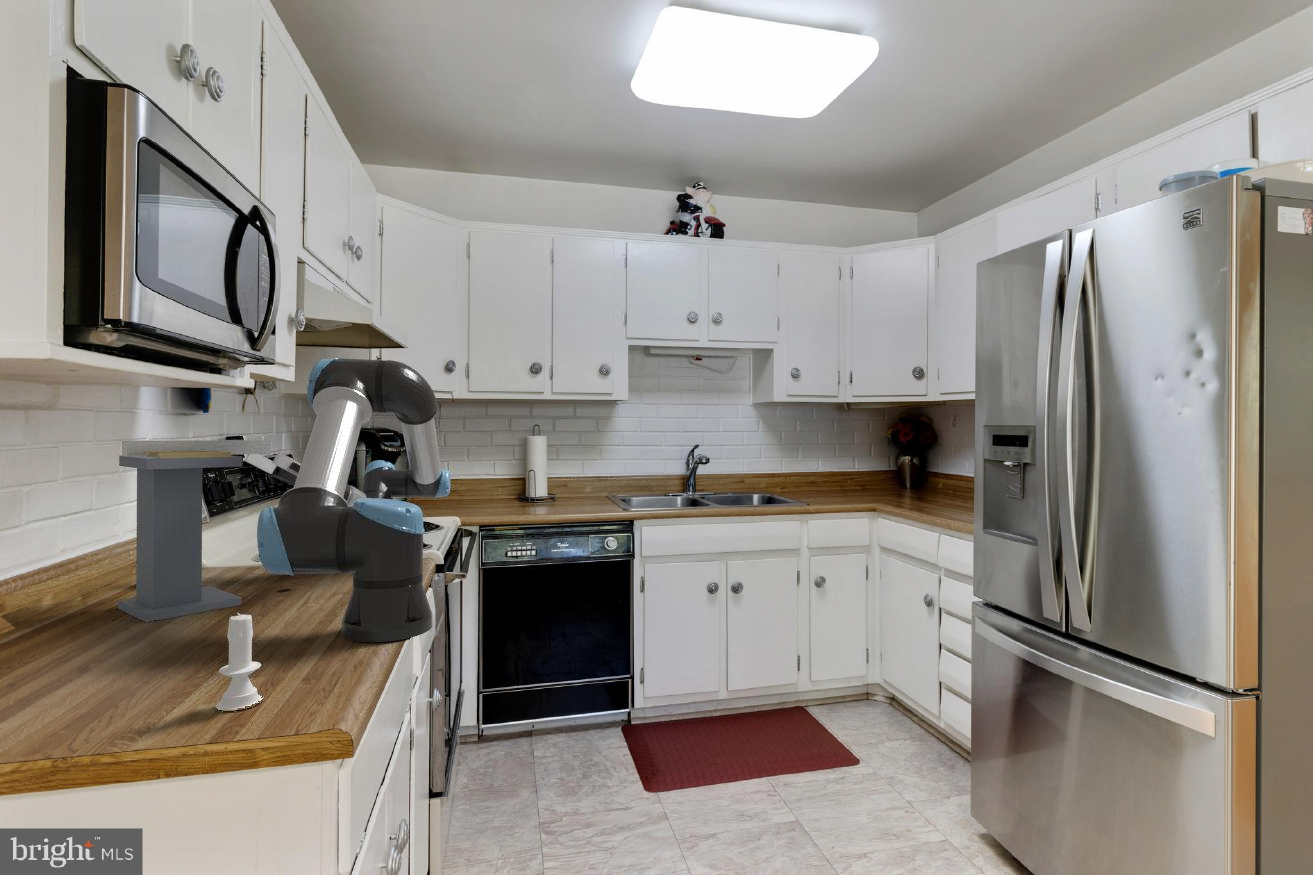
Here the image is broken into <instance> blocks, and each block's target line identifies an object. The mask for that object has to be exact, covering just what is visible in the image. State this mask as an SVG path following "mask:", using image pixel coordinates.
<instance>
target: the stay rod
mask: <svg viewBox="0 0 1313 875" xmlns="http://www.w3.org/2000/svg"><path fill="white" fill-rule="evenodd" d="M162 451H219V452H232V456H234V455H248V454H260V455H270V454H271V440H269V439H230V440H229V439H222V440H221V439H220V440H219V439H218V440H217V439H215V440H213V439H210V440H208V439H205V440H203V439H200V440H199V439H196V440H195V439H194V440H193V439H189V440H186V439H184V440H183V439H182V440H181V439H180V440H176V439H175V440H173V439H171V440H166V439H165V440H162V439H161V440H160V439H159V440H154V439H153V440H152V439H151V440H143V439H142V440H121V456H127V457H130V456H146V452H162Z"/></svg>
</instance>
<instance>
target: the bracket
mask: <svg viewBox="0 0 1313 875" xmlns="http://www.w3.org/2000/svg"><path fill="white" fill-rule="evenodd" d="M232 456H233V455H232V452H219V451H162V452H146V457H158V458H199V457H232Z"/></svg>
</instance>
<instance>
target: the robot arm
mask: <svg viewBox="0 0 1313 875" xmlns="http://www.w3.org/2000/svg"><path fill="white" fill-rule="evenodd" d="M306 389H307V390H306V392H307V393H306V396H307V402H308V404H309V406H310V408H311V409H312V410H313V411H314V413H315V415H316V417H315V420H314V423H313V427H312V429H311V433H310V435H309V439H308V441H307V445H306V448H305V451H304V455H303V457H302V461H301V462H299V461H297V460H295V459H294V458H292V457H290V456H288V455H287V454H284V453H282V452H280V451H278V452H277V454H276V455H275V457H274V458H273V460H271V459H269V458H267V457H265V456H264V455H263V454H247V455H246V457H245V459H244V461H245V462H246V463H247V464H250V465H253V467H256V468H258V469H260V470H261V471H264V472H266V473H268V475H267V477H268V478H272V477H274V478H276V479H278V480H280V481H281V482H282V481H283V482H285V483H287V484H289V485H292V486H293V488H292V487H291V488H290V489H288V490H287V491H285V492H284V493H283V494H282V495H281V496H280V499H279V502H278V504H277V506H273V505H271V506H267V507H264V508H263V509H262V510H261V511H260V513H259V515H258V520H257V527H256V539H257V540H256V541H257V549H258V555H259V559H260V562H261V565H262V567H263V568H264V569H265V571H266V572H267V573H269V574H271V575H290V576H295V575H313V574H314V575H316V574H318V575H321V574H352V591H351V593H350V597H349V600H348V603H347V606H346V608H345V612H344V614H343V616H342V619H341V637H343V638H345V639H346V640H348V641H354V642H359V643H385V642H396V641H402V640H406V639H411V638H414V637H418V636H420V635H423V634H425V633H427V632H429V631H430V630H431V629H432V627H433V612H432V609H431V605H430V602H429V600H428V596H427V593H426V590H425V588H424V577H423V576H424V574H423V573H424V563H423V562H424V534H425V528H424V517H423V516H424V514H423V510H422V509H421V507H420V506H418V505H416V504H415V503H411V502H408V501H403V500H397V498H398V499H399V498H402V499H404V498H408V499H409V498H410V499H411V498H418V499H419V498H420V499H421V498H430V499H431V498H432V499H436V498H445V497H448V496H449V494H450V492H451V472H450V471H449V469H448V470H447V469H442V468H441V460H440V452H439V446H438V445H439V444H438V437H437V436H438V435H437V430H436V422H435V417H436V415H437V414H438V413H437V412H438V402H437V397H436V393H435V392H434V390H433V388H432V387H431V385H430V384H429V382H428V381H427V380H426V379H425V378H424V376H422V375H421V374H420V373H419V372H418V371H417V370H415V369H414V368H413V367H411V366H409V364H405V363H403V362H400V361H396V360H389V359H385V360H382V359H379V360H378V359H362V358H360V359H359V358H342V357H334V358H322V359H320V360H318V361H316V362H315V364H314V365H313V366H312V368H311V370H310V373H309V376H308V384H307V387H306ZM373 413H378V414H379V413H381V414H382V413H383V414H385V413H386V414H387V413H389V414H390V413H391V414H394V417H395V418H396V419H397V421H399V422H400V425H401V431H402V434H403V435H402V436H403V440H404V445H405V451H406V456H407V459H408V466H409V469H396V467H395V466H394V464H393V463H391V462H390V461H385V460H383V459H382V460H380V459H379V460H378V459H377V460H373V461H371V462H370V463H368V464H367V466H366V467H365V471H364V475H363V478H362V485H361V490H360V489H358V488H357V487H355V486H353V485H350V484H349V483H348V480H349V478H350V477H349V476H350V473H351V468H352V464H353V461H354V457H355V456H354V455H355V453H356V447H357V445H358V440H359V437H360V432H361V429H362V428H361V427H362V426H364V425H366V424H367V423H368V422H369V421H370V419H371V418H372V415H373ZM393 498H394V499H393ZM395 498H396V499H395Z"/></svg>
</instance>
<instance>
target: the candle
mask: <svg viewBox="0 0 1313 875" xmlns="http://www.w3.org/2000/svg"><path fill="white" fill-rule="evenodd" d="M236 613H237V615H235V616H230V617H229V620H228V630H227V635H226V636H227V640H228V664H227V665H225V666H224V665H223V666H222V667H221V668H219V670H218V673H219V674H221V675H224V676H226V677H229V678H231V682H230V683H229V686H228V687H227V690H226V691H225V692H223V694H222V696H221V697H222V698H221V700H220V701H219V702H217V703H216V705H215V709H216V708H217V709H218V711H219V710H237V709H238V708H245V706H251V705H252V704H255V703H259V702H258V701H261V700H262V699H263V698H264V697H263V698H261V697H262V695H261V696H260V694H259V693H258V688H257V687H255V686H254V685H253V684H252V682H251V680H250V678H249V675H250V674H252V673H254V672H255V671H257V670H258V669H260V668H261V667H262V664H261V662H258V661H253V658H252V655H253V653H252V651H253V650H252V648H253V647H252V646H253V644H252V642H253V637H254V631H253V618H252V615H251V614H240V613H239V612H236ZM217 709H216V710H217Z"/></svg>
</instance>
